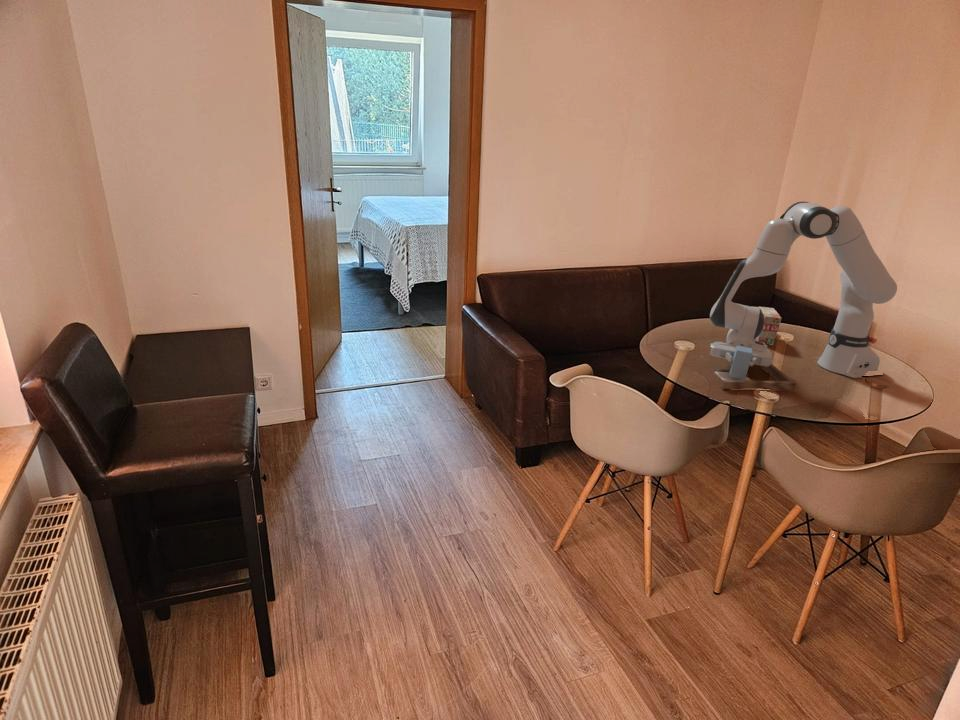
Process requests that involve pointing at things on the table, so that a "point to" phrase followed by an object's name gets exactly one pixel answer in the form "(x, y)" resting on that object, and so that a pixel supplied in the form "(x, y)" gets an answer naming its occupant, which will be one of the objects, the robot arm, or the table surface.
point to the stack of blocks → (769, 325)
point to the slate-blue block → (741, 362)
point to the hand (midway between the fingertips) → (741, 362)
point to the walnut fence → (763, 382)
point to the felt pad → (726, 376)
